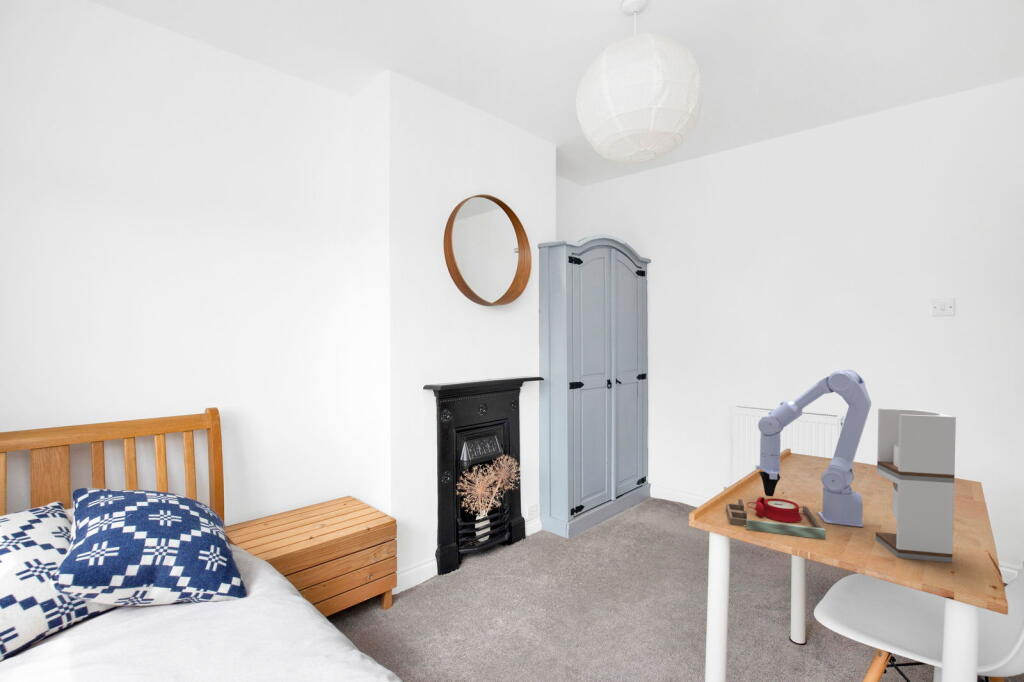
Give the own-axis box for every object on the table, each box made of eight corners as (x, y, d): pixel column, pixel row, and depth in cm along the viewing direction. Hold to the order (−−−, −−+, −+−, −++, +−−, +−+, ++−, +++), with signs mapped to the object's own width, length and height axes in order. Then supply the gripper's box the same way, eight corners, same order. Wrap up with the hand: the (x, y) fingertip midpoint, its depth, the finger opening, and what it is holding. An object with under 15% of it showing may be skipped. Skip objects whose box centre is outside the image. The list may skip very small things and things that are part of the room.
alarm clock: (806, 514, 139) (749, 493, 146) (800, 534, 140) (744, 513, 147) (805, 503, 148) (751, 484, 155) (799, 522, 149) (746, 503, 156)
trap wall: (806, 512, 150) (806, 504, 150) (825, 539, 130) (825, 530, 130) (738, 504, 156) (738, 496, 156) (746, 529, 136) (746, 520, 136)
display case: (924, 544, 128) (928, 410, 128) (952, 562, 118) (955, 417, 117) (875, 539, 130) (878, 408, 130) (898, 557, 120) (901, 414, 119)
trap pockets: (740, 510, 151) (740, 504, 151) (745, 526, 139) (745, 519, 139) (726, 508, 152) (726, 503, 152) (730, 524, 140) (730, 517, 140)
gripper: (753, 447, 165) (752, 487, 166) (759, 457, 152) (758, 501, 152) (776, 449, 163) (775, 489, 163) (785, 459, 149) (784, 504, 150)
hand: (769, 495), depth 157 cm, fingers closed
